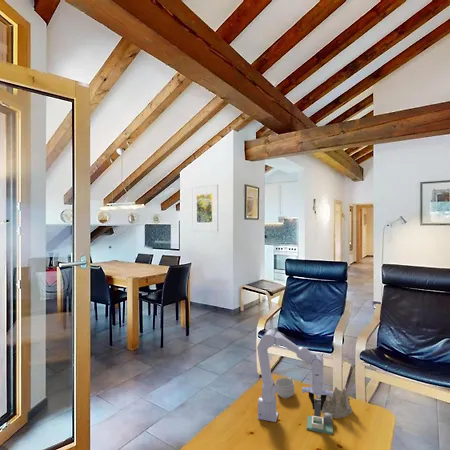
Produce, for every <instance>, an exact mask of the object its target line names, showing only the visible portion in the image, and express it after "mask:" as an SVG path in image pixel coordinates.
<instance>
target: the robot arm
mask: <svg viewBox="0 0 450 450" xmlns="http://www.w3.org/2000/svg"><path fill="white" fill-rule="evenodd" d="M273 346H274V347H279V346H283V347H284V348H286V349H288V350H289V351H291V352H293V353H295V354H296V357H297V358H298V359H300V360H302V361H303V362H304V363H306V364H307V365H310V367H311V372H310V373H311V374H310V379H311V384H310V385H311V386H302V388H301V393H303V394H304V393H306V394H308V398H309V400H310V402H311V406H312V410H314V398H315V396H316V395H317V396H319V395H321V410H322V408H323V404H324V402H325V400H326V396H331V397H333V392H334V390H328V389H326V388H324V358H323V356H322V355H320V354H318V353H315V352H312V351H311V350H309V349H308V348H307V347H306V346H305V347H304V346H298V345H296V343H294V342H292V341H291V340H289V339H288V338H287V337H285V336H284V335H283V334H282V333H280V332H279V331H277V330H275V329H274V328H270V329H268V330H267V331H266V332H264V334H263V335H262V336H261V338H260V339H259V342H258V344H257V347H256V348H257V349H256V350H257V355H258V363H259V368H260V373H261V374H260V375H261V380H262V381H261V382H262V385H261V386H262V388H261V390H262V391H261V396H260V397H258V401H257V419H258V420H260V421H261V420H262V421H267V422H268V421H269V422H272V423H273V422H274V423H276V422H277V421H278V420H277V419H278V416H279V412H278V411H277V397H276V393H277V387H276V383H275V381H274V379H273V376H272V371H271V364H270V358H269V351H268V349H270V348H271V347H273Z"/></svg>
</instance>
